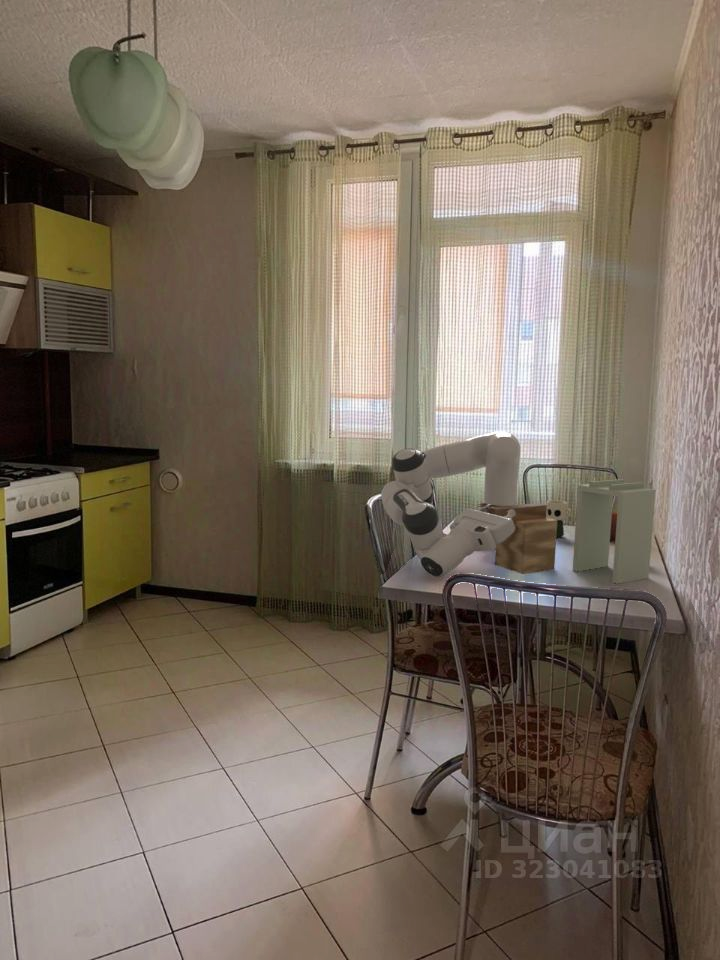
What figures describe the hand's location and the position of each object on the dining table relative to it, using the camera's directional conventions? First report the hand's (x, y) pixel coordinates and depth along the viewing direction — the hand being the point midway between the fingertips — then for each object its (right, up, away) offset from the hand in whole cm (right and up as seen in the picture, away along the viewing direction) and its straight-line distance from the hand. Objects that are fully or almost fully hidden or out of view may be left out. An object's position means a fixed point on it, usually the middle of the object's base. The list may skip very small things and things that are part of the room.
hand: (502, 508), depth 211 cm
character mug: (+30, -13, +54) cm, 63 cm away
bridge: (+32, -19, +2) cm, 38 cm away
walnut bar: (+5, -3, +4) cm, 7 cm away
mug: (+51, -13, +51) cm, 73 cm away
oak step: (+8, -18, +8) cm, 21 cm away
